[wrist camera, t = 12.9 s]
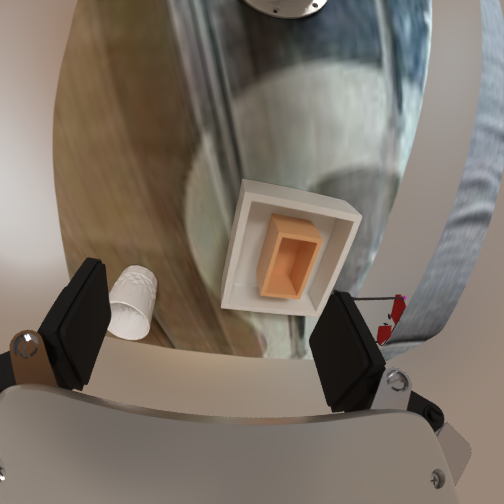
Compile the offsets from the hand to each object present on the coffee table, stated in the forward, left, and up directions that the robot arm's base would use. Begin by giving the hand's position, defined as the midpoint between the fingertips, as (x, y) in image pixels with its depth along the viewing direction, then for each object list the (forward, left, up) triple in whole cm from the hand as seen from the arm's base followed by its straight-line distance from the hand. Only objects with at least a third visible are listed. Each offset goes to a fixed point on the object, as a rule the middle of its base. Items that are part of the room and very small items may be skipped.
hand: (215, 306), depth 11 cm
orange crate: (+11, +11, -27) cm, 31 cm away
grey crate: (+11, +11, -28) cm, 32 cm away
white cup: (+22, -11, -28) cm, 38 cm away
